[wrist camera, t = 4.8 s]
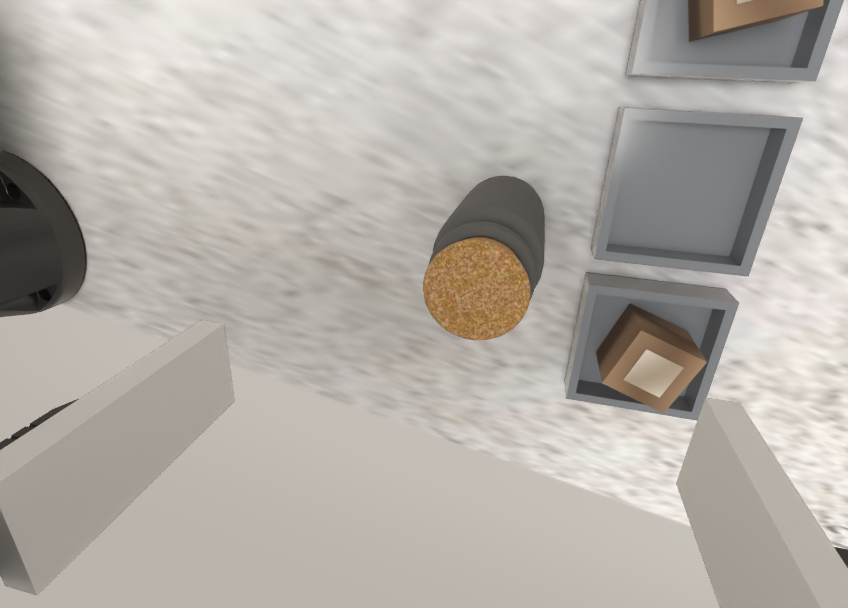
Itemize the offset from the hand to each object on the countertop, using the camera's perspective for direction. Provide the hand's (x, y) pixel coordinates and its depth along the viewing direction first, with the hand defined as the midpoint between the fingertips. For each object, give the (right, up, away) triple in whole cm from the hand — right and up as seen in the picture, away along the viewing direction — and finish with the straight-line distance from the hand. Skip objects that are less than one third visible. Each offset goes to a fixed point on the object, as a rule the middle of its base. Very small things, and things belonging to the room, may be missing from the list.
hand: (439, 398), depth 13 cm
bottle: (+5, +9, +21) cm, 24 cm away
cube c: (+15, 0, +22) cm, 27 cm away
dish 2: (+16, +10, +18) cm, 26 cm away
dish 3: (+15, 0, +22) cm, 27 cm away
